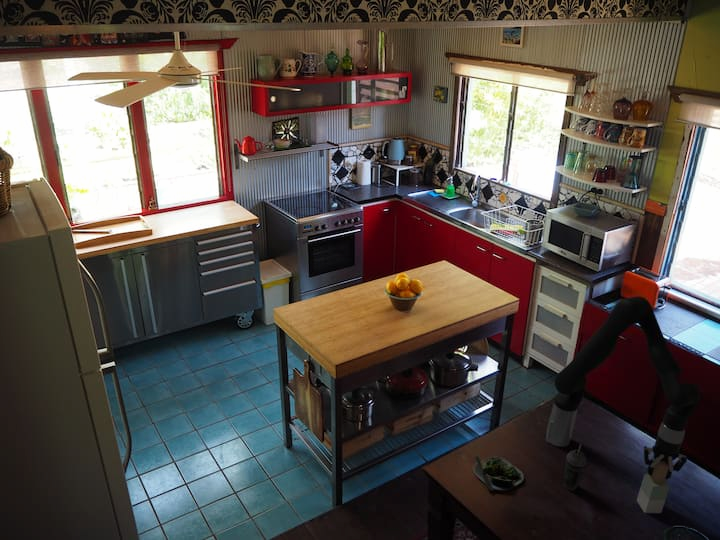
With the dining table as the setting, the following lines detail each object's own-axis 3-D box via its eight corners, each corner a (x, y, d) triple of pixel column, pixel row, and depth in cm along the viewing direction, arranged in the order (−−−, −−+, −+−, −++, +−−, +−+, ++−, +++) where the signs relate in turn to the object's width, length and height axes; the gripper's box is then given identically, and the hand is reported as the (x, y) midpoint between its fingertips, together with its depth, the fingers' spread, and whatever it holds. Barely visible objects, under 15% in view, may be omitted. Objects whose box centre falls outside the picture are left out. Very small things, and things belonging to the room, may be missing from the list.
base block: (644, 513, 212) (648, 499, 210) (636, 500, 217) (640, 487, 215) (661, 513, 212) (665, 499, 210) (652, 500, 218) (656, 487, 216)
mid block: (649, 499, 210) (653, 486, 207) (640, 487, 215) (644, 474, 213) (665, 499, 210) (669, 486, 208) (656, 487, 216) (660, 474, 213)
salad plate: (458, 467, 229) (460, 457, 227) (492, 452, 238) (494, 442, 237) (495, 499, 214) (497, 489, 212) (529, 481, 224) (531, 472, 222)
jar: (651, 480, 208) (656, 464, 206) (649, 471, 213) (653, 456, 210) (666, 484, 207) (671, 468, 205) (663, 475, 212) (668, 459, 209)
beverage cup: (580, 482, 224) (591, 438, 217) (580, 495, 218) (591, 450, 210) (560, 477, 226) (570, 433, 219) (559, 490, 220) (569, 445, 212)
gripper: (649, 437, 202) (637, 478, 208) (695, 447, 198) (682, 488, 205) (646, 424, 208) (634, 464, 215) (691, 434, 205) (678, 474, 211)
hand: (658, 475), depth 210 cm, fingers closed on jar, 4 cm apart
